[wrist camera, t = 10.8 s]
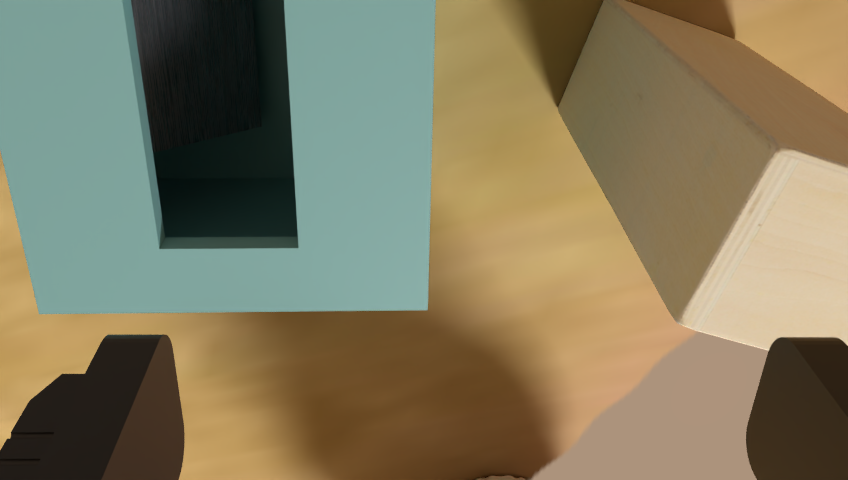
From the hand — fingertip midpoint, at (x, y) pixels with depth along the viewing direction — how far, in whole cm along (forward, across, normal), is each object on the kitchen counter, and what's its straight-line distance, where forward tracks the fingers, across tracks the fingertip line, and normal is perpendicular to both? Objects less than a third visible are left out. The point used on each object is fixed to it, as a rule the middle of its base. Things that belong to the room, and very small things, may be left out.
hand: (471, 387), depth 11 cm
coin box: (+33, +8, +4) cm, 34 cm away
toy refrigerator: (+33, -12, +6) cm, 36 cm away
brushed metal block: (+31, +8, +4) cm, 32 cm away
